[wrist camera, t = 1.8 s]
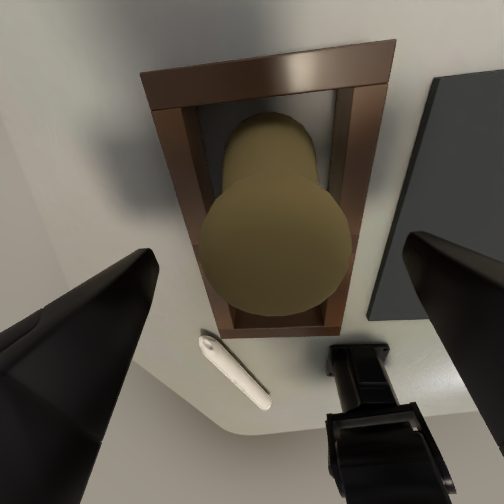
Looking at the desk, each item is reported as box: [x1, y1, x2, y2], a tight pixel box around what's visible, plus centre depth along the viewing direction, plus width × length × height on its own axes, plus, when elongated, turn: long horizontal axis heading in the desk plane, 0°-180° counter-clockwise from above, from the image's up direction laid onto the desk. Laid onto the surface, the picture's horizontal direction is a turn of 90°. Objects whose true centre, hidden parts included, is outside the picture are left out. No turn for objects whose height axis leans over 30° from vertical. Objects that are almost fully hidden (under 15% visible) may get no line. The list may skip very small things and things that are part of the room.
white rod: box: [199, 336, 272, 410], centre depth 31 cm, size 18×2×2 cm, turn 25°
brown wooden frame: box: [140, 39, 396, 339], centre depth 18 cm, size 20×11×3 cm, turn 6°
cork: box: [199, 112, 352, 316], centre depth 12 cm, size 6×6×11 cm
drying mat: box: [367, 70, 504, 321], centre depth 18 cm, size 20×14×1 cm
